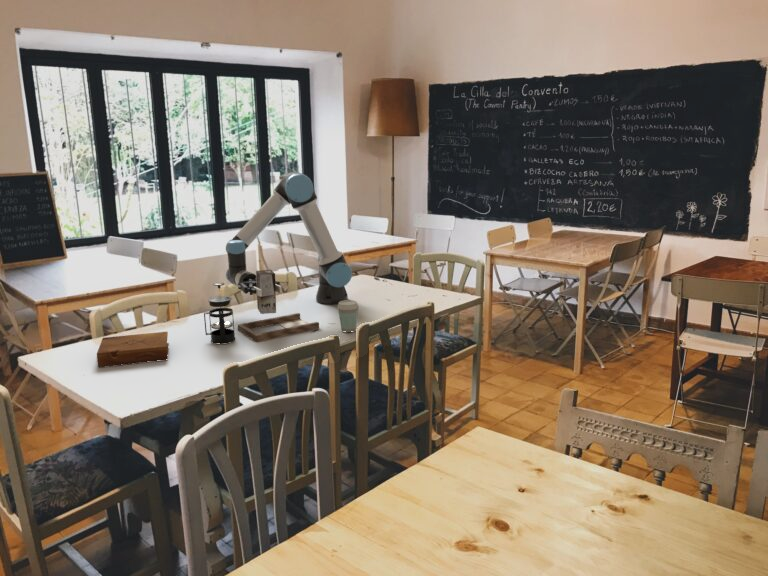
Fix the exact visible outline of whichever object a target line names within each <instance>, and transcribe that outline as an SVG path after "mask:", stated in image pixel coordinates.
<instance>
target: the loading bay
mask: <svg viewBox="0 0 768 576" xmlns="http://www.w3.org/2000/svg"><path fill="white" fill-rule="evenodd" d="M274 325H279V326H280V327H282V328H281V329H276V330H271V331H266V332H261V333H257V332H255V331H254V330H253V329H257V328H258V329H259V328H263V327H269V326H274ZM318 328H319V329H320V322H318V321H315V322H311V323H310V322H307V321H306V320H304V319H301V313H300V312H295V313H291V314H285V315H281V316H280V315H279V316H275V317H271V318H265V319H260V320H254V321H250V322H246V323H245V322H243V323H239V324H237V331H238V332H240V333H241V334H243V335H244V336H246V337H247V338H249V339H251V340H252V341H254V342H262V341H268V340H272V339H276V338H281V337H286V336H291V335H295V334H300V333H305V332H309V330H310V331H314V329H315V330H318Z"/></svg>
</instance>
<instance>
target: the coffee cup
mask: <svg viewBox="0 0 768 576" xmlns="http://www.w3.org/2000/svg"><path fill="white" fill-rule="evenodd" d="M336 308H337V309H338V315H339V316H338V317H339V324H340V331H341V330H342V331H346V332H351V331H355V330H356V331H357V321H358V320H357V319H358V313H359V312H358V309H359V304H358V302H357V301H356V300H352V299H348V300H344V301H340V302H339V303H338V305H337V307H336ZM342 331H341V332H342ZM356 331H355V332H356Z"/></svg>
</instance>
